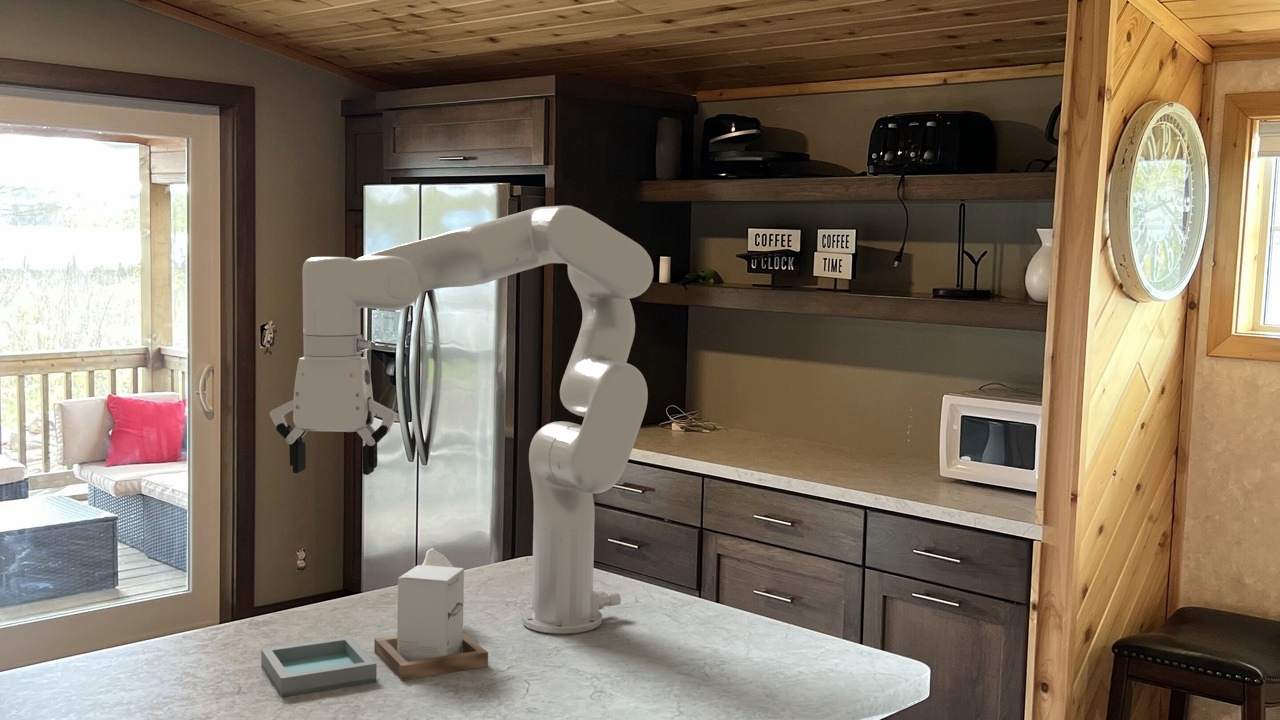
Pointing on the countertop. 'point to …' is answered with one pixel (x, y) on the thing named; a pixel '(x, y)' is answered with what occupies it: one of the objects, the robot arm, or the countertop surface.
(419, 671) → the wooden picture frame
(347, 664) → the dock
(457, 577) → the supplement box
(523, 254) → the robot arm
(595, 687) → the countertop surface
